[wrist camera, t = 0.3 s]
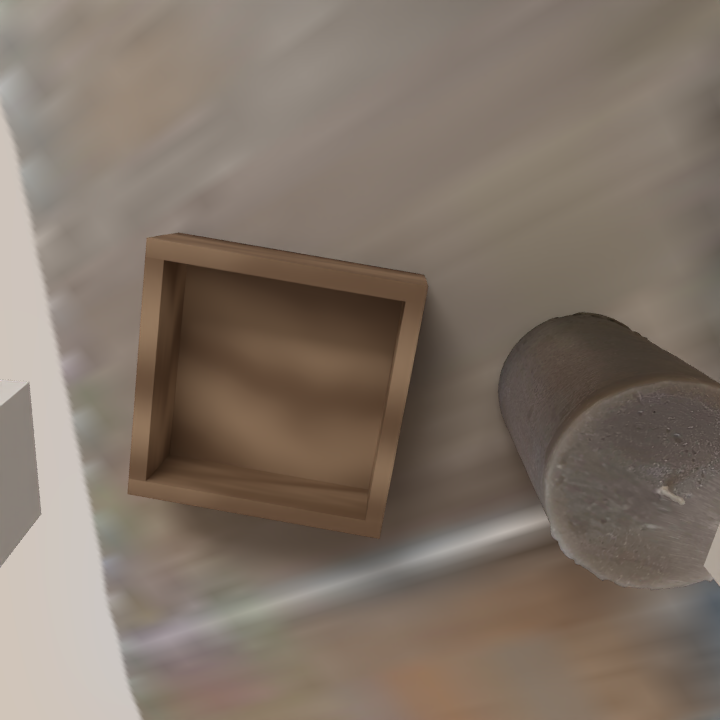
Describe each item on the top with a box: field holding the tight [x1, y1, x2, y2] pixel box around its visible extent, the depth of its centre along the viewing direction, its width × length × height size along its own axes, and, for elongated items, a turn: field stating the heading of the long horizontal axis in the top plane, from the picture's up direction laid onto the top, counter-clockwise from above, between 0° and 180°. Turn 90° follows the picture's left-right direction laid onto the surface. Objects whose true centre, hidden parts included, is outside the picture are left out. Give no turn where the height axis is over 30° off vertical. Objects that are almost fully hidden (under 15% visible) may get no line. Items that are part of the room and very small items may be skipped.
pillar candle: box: [498, 312, 720, 590], centre depth 32 cm, size 10×10×15 cm
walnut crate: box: [128, 233, 428, 539], centre depth 37 cm, size 15×15×5 cm
